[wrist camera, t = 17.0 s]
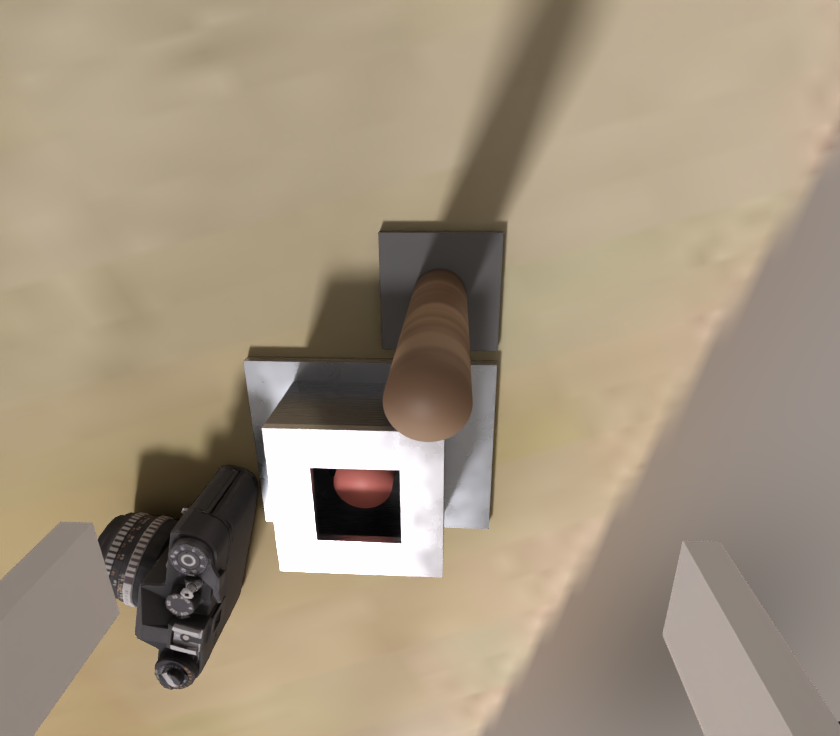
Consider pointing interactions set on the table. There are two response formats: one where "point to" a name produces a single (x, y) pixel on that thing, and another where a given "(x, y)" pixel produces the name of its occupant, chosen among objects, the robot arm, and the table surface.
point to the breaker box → (362, 467)
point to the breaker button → (364, 486)
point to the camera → (184, 571)
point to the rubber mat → (453, 251)
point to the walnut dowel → (432, 362)
